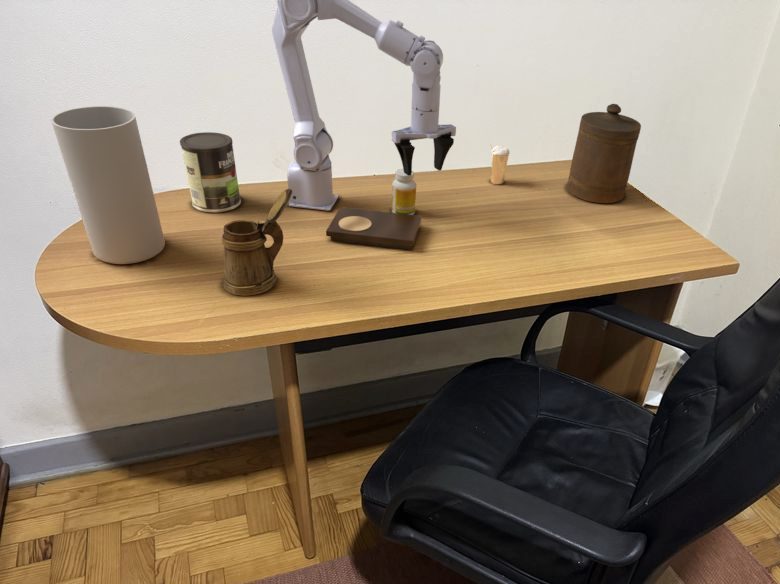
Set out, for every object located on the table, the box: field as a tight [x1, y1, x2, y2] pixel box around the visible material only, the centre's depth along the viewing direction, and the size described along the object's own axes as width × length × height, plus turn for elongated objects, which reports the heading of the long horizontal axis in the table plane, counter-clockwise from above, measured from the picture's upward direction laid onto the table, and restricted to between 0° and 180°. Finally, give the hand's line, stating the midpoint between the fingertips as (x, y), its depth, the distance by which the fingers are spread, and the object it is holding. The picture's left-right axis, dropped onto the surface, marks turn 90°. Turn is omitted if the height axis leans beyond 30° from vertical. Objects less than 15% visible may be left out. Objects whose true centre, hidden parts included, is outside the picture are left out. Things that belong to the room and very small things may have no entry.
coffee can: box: [179, 131, 242, 213], centre depth 135 cm, size 10×10×14 cm
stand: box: [325, 206, 423, 251], centre depth 133 cm, size 18×12×3 cm, turn 85°
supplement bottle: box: [391, 168, 417, 215], centre depth 140 cm, size 5×5×10 cm
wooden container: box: [566, 103, 642, 204], centre depth 155 cm, size 15×15×22 cm
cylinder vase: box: [50, 105, 166, 265], centre depth 112 cm, size 12×12×25 cm
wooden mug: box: [221, 188, 293, 297], centre depth 109 cm, size 9×14×18 cm, turn 103°
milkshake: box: [489, 144, 510, 185], centre depth 159 cm, size 5×5×10 cm
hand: (422, 171), depth 137 cm, fingers open, 7 cm apart
